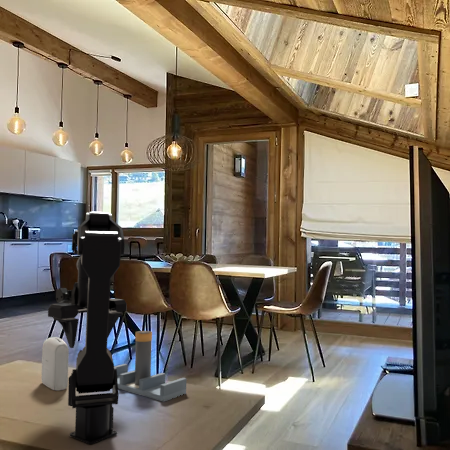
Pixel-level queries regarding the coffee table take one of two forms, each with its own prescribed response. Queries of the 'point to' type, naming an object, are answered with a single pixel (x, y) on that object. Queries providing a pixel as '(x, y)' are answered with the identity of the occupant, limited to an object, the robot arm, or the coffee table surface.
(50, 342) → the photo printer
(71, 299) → the robot arm
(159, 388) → the grey divided tray
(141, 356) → the grey cylinder
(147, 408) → the coffee table surface
